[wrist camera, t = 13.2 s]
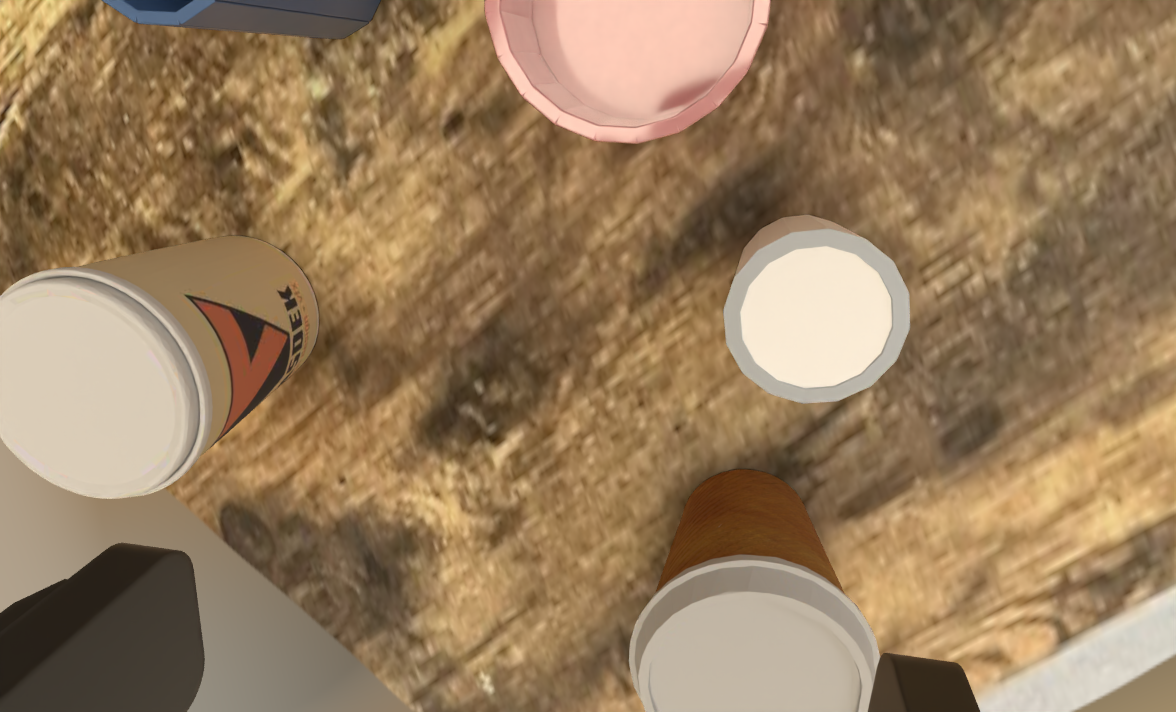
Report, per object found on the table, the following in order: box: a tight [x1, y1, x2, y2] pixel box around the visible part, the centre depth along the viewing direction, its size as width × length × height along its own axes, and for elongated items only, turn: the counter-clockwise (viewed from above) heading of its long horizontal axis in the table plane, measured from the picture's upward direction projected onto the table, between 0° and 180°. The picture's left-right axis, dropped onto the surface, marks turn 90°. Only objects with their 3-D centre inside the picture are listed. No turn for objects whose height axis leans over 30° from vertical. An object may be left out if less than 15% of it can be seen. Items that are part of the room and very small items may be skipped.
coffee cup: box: [0, 236, 319, 499], centre depth 37 cm, size 9×9×12 cm
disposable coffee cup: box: [629, 469, 880, 712], centre depth 36 cm, size 10×10×12 cm
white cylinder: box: [723, 215, 910, 404], centre depth 34 cm, size 7×7×7 cm
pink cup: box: [484, 0, 771, 144], centre depth 32 cm, size 10×10×6 cm
